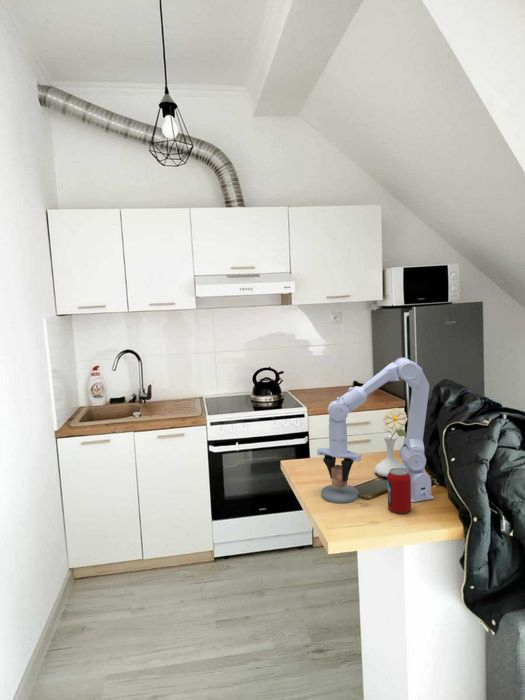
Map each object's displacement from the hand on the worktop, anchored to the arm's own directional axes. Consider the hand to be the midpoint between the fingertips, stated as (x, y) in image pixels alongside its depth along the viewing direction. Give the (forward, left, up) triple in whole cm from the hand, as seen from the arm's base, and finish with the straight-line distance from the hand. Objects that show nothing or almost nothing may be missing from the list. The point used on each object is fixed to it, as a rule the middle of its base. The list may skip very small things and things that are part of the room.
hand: (339, 479), depth 155 cm
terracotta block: (0, 0, -2) cm, 2 cm away
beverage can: (-16, -12, -6) cm, 21 cm away
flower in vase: (+9, -25, -6) cm, 27 cm away
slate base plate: (0, 0, -6) cm, 6 cm away
